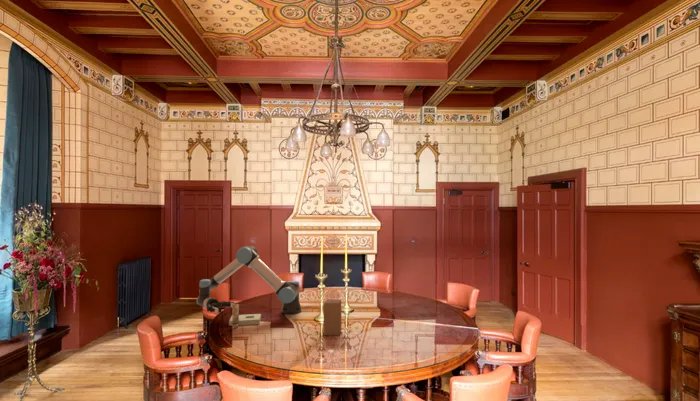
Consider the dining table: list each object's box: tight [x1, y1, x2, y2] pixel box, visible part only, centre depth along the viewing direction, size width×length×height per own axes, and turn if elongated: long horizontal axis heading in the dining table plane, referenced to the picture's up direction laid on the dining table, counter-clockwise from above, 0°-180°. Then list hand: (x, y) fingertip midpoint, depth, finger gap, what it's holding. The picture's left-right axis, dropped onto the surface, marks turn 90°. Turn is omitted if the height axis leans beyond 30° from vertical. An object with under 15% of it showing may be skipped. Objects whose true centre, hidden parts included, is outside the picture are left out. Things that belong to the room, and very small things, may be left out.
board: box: [228, 313, 262, 327], centre depth 246 cm, size 20×14×3 cm
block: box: [323, 298, 342, 337], centre depth 222 cm, size 10×10×20 cm
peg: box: [231, 303, 240, 329], centre depth 233 cm, size 4×4×15 cm
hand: (227, 308), depth 240 cm, fingers open, 13 cm apart
